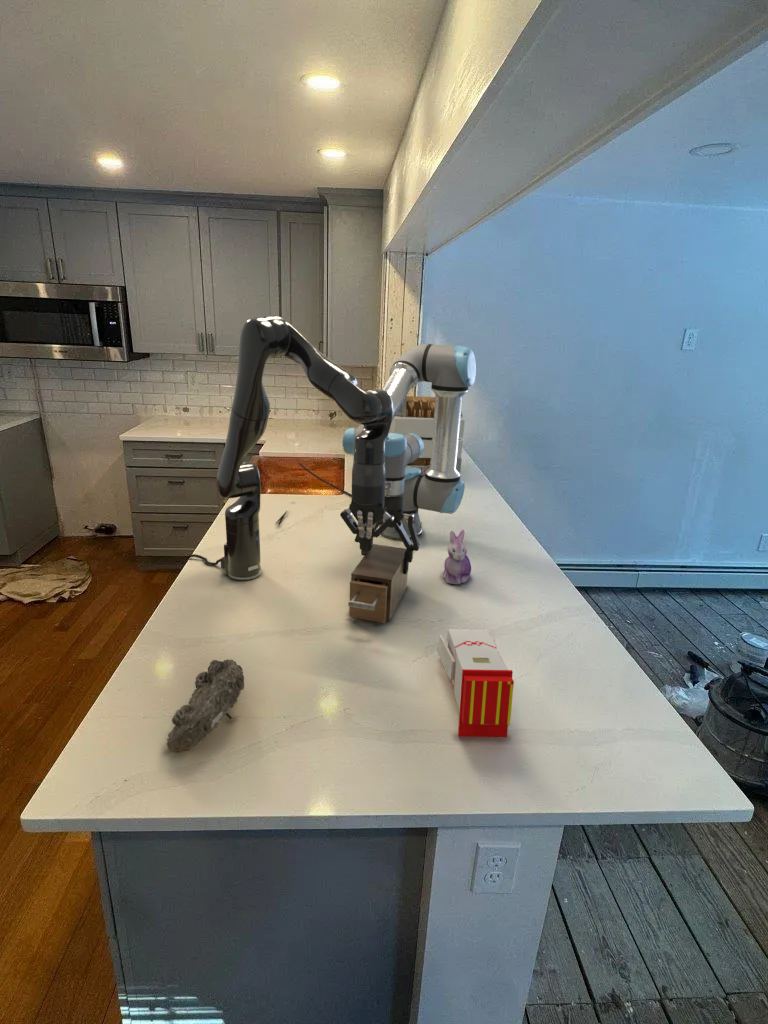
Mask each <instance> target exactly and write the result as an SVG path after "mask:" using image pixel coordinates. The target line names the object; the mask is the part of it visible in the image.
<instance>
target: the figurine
mask: <svg viewBox="0 0 768 1024" xmlns="http://www.w3.org/2000/svg"><path fill="white" fill-rule="evenodd" d="M455 533H456V532H454V531H453V530H450V531H449V541H450V544H449V545H448V548H447V554H448V556H447V557H446V558H445V560H444V564H443V565H444V569H443V575H442V576H443V579H444V580H445V582H446V583H447V584H450V585H451V584H452V585H460V584H464V583H466V582H468V580H469V579H470V576H471V573H472V563H471V560H470V558H469V557H468V555H467V553H468V550H467V547H466V545H465V542H464V539H465V535H466V534H465V533H466V532H465V530H464V529H462V530H460V531H459V534H458V535H456V534H455Z"/></svg>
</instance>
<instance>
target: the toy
mask: <svg viewBox="0 0 768 1024" xmlns="http://www.w3.org/2000/svg"><path fill="white" fill-rule="evenodd" d="M446 640H447V643H446V641H445V639H444V636H443V635H442V634H439V637H438V646H437V656H438V657H439V659H440V661H441V663H442V666H443V668H444V670H445V672H446V674H447V677H448V679H449V681H450V684H451V687H452V690H453V693H454V697H455V701H456V705H457V708H458V711H459V714H458V715H459V716H458V730H457V731H458V732H457V737H458V738H508V731H509V726H510V725H511V717H512V707H513V697H514V696H513V695H514V684H515V680H514V679H513V673H514V671H513V670H512V669H508V667H507V665H506V662H505V661H504V659H503V658H502V655H501V653H500V651H499V649H498V647H497V643H496V639H495V637H494V635H493V634H491V632H490V631H489V629H467V628H466V629H465V628H463V629H461V628H460V629H459V628H448V630H447V639H446Z"/></svg>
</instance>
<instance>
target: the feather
mask: <svg viewBox="0 0 768 1024" xmlns="http://www.w3.org/2000/svg"><path fill="white" fill-rule="evenodd" d="M287 512H288V510H286V511H285V512H284V513H283V514H282V515H281V517H280V518H278V520H277V521H276V522H275V523H274V524H276V523H277V524H278V526H277V527H278V528H279V527H280V525H281V524H282V522H283V519H284V518H285V516H286V514H287Z"/></svg>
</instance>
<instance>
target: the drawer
mask: <svg viewBox="0 0 768 1024" xmlns="http://www.w3.org/2000/svg"><path fill="white" fill-rule="evenodd" d="M386 605H387V583H384V582H377V581H371V580H365V579H357V581H351V580H350V582H349V600H348V603H347V606H348V608H349V609H348V610H349V612H348V618H354V619H360V620H365V621H371V622H377V623H383V624H385V623H386V622H387V621H386Z"/></svg>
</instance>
